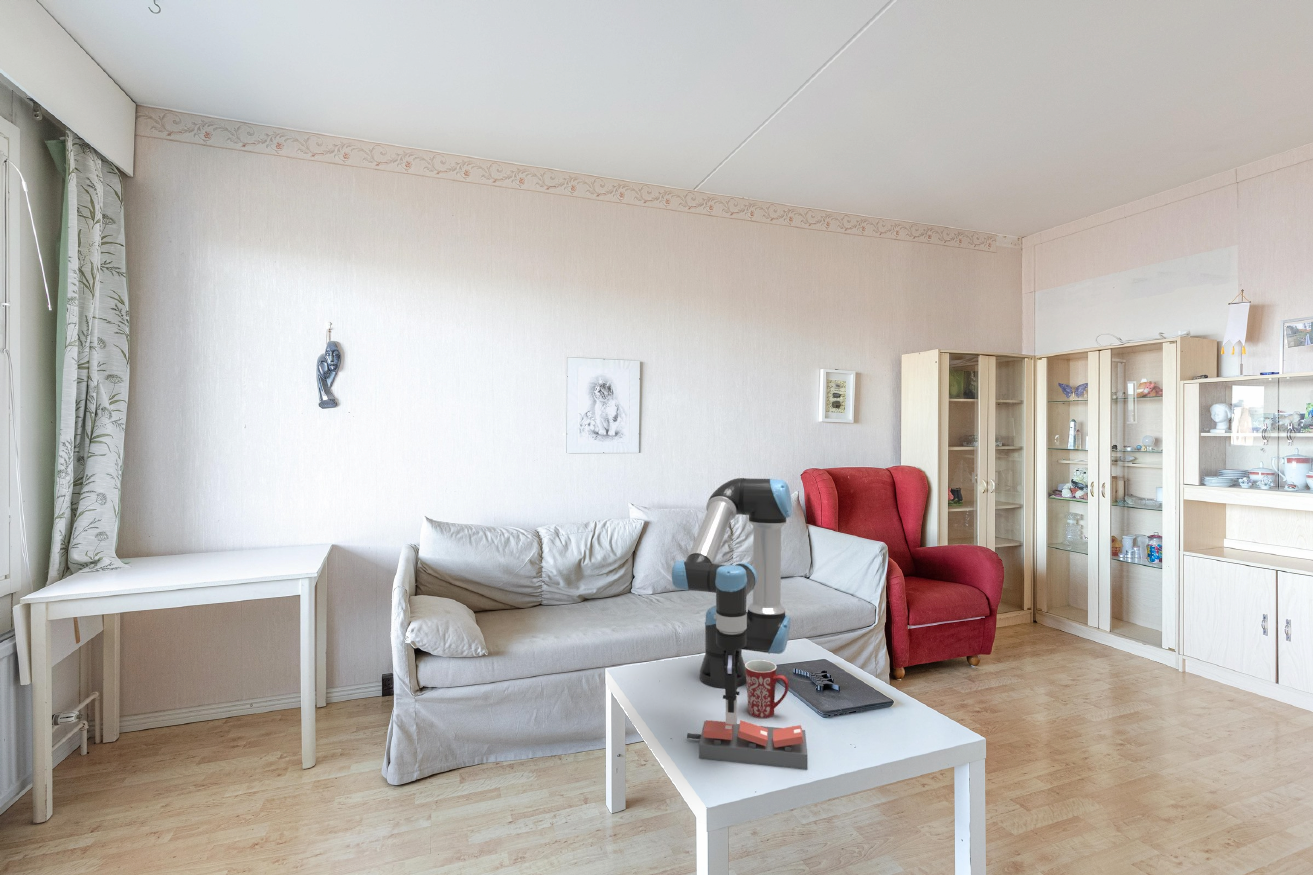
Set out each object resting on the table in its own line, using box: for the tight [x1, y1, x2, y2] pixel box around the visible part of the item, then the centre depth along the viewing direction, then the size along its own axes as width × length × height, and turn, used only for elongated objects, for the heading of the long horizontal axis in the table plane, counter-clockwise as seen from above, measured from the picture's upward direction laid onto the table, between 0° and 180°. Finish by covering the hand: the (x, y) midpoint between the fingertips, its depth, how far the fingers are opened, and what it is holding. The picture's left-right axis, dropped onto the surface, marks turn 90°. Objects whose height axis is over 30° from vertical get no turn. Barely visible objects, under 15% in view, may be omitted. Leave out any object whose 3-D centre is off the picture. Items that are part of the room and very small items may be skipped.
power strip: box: [686, 720, 808, 770], centre depth 157 cm, size 12×30×5 cm, turn 79°
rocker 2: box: [773, 724, 803, 747], centre depth 153 cm, size 6×7×2 cm
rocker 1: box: [703, 719, 733, 740], centre depth 156 cm, size 6×7×2 cm
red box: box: [738, 719, 768, 746], centre depth 154 cm, size 6×7×2 cm
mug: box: [744, 659, 790, 719], centre depth 176 cm, size 13×9×14 cm
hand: (731, 722), depth 155 cm, fingers closed
